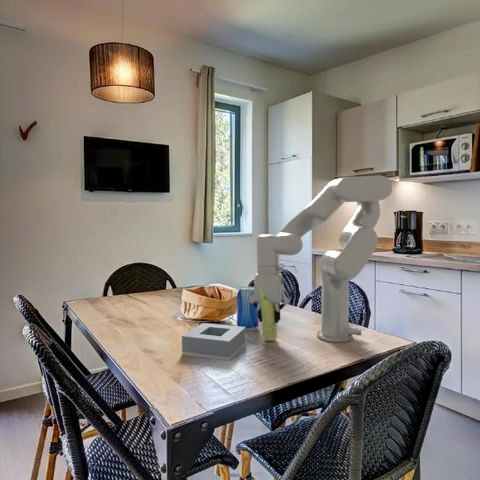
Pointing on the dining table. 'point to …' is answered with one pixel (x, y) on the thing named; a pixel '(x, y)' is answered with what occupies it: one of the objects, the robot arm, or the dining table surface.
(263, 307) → the tube
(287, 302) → the robot arm
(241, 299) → the beer can
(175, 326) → the dining table surface
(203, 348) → the well
